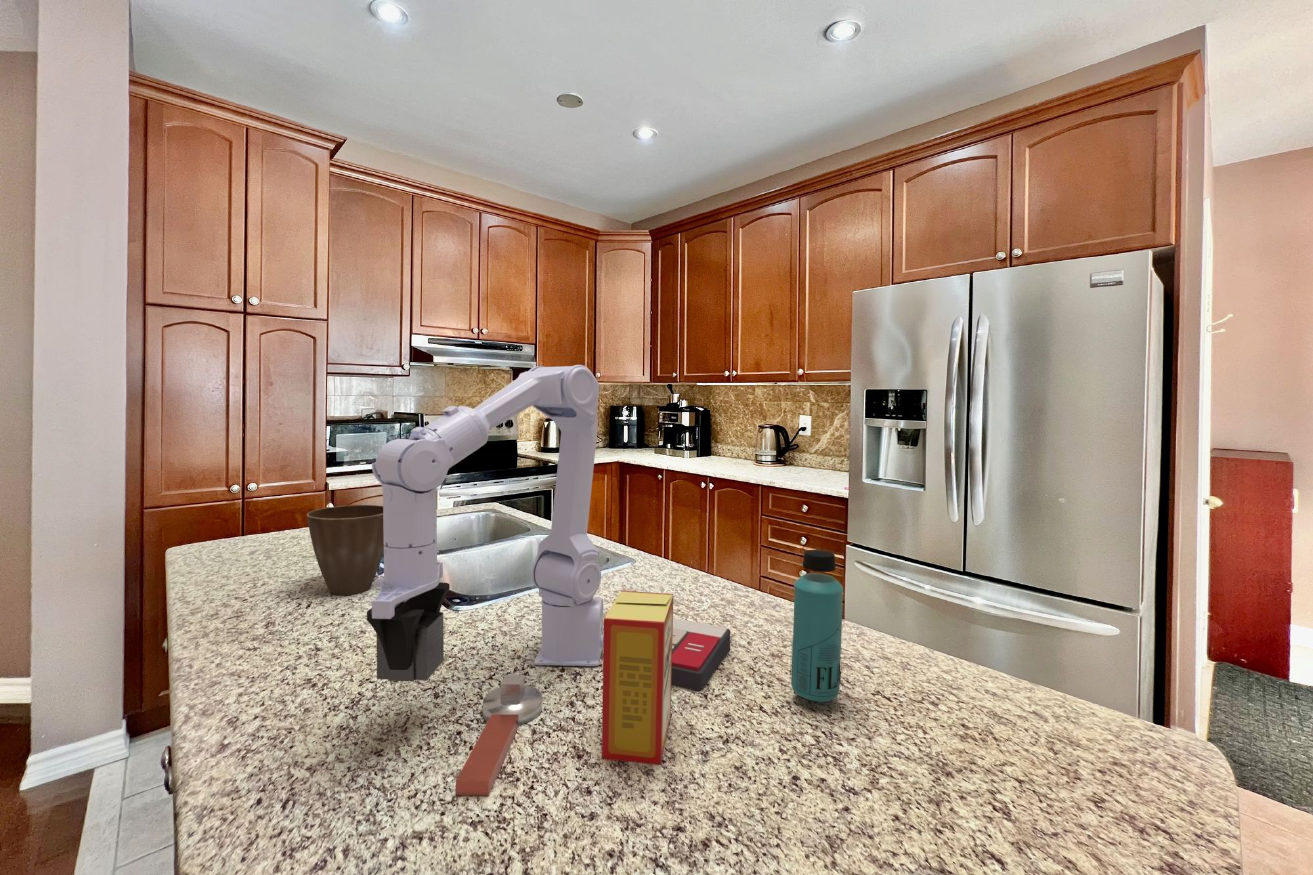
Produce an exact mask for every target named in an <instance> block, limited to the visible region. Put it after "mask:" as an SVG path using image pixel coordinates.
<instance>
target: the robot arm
mask: <svg viewBox="0 0 1313 875" xmlns="http://www.w3.org/2000/svg"><path fill="white" fill-rule="evenodd" d="M600 386H601V385H600V383H599V381H598V380H597V378H596V377H595V376H594V374H593V372H592V371H591V370H590V369H589V367H587V366H586V365H583V364H575V365H571V366H569V365H568V366H567V365H565V366H542V365H540V366H539V365H537V366H534V367H532V368H530V369H529V370H528V371H527V370H525V371H524V372H520V373H519V375H518V377H517V378H516V379H515V380H513V381H512V382H509V383H508V384H507V385H505V386H504V387H502V388H501V389H500V390H499V391H497V392H496V393H494V394H493V395H491V396H490V397H488V398H486V399H485V400H483V402H481V403H480V404H478V405H476V406H475V407H473V408H471V407H469V406H465V405H459V406H457V405H455V406H454V405H453V406H451V405H449V406H448V407H446V408H443V409H442V413H443V415H442V416H441V417H439V418H437V419H435V420H433V421H432V422H430V423H428V424H427V425H425V426H424V427H422V426H416V427H415V428H413V429H411V430H410V433H411V434H410V435H409V438H408V439H406V438H397V439H392V440H390V441H388V442H386V443H385V444H384V445H383V446H382V447H381V448H380V451H379V452H378V453H377V455H376V459H375V462H372V463H371V470H372V473H373V476H374V478H375V479H376V480H377V481H378V482H379V483H380V485H381V487H382V501H383V502H382V506H383V528H384V550H383V576H379V577H378V578H376V579H374V581H373V586H374V587H375V588H379V590H378V593H377V596H375V598H373V599H372V600H371V608H369V609H368V610H367V611H366V620H367V622H368V623H369V625H370V626H371V627H372V629H373V630H374V632H375V633H376V636H377V635H378V637H379V639H380V641H381V644H382V647H383V650H384V653H385V657H386V660H387V663H388V666H389V669H390V670H408V668H409V667H410V664H411V660H412V655H413V646H414V638H415V633H416V629H417V626H418V623H419V620H420V618H421V616H422V614H423V612H424V611H433V612H441V609H442V606H443V603H444V602H445V599H446V597H447V595H448V593H449V591H450V587H451V586H450V583H448V582H440V580H441V579H442V578H443V576H444V565H443V564H444V563H443V562H442V561H438V533H437V532H438V523H437V521H438V520H437V519H438V518H437V516H438V514H437V513H438V510H437V508H438V503H437V500H438V498H437V496H438V494H437V493H438V491H437V490H438V489H437V488H438V487H440V486H441V485H442V484H443V482H444V481H445V479H446V478H447V475H448V471H449V470H450V468H452V467H454V466H455V465H456V464H458V463H459V462H461V461H462V460H464V459H465V458H467V457H468V456H469V455H471V454H473V453H474V452H476V451H478V450H479V449H480V448H481V447H483V446H484V445H486V444H487V442H488V440H489V433H490V432H489V431H490V430H492V429H494V428H496V427H497V426H499V425H501V424H502V423H504V422H506V421H508V420H509V419H511V418H513V417H514V416H516V415H518V414H520V413H522V412H524V411H525V410H527V409H529V408H530V407H533V408H534V409H536V410H537V411H539V412H540V413H541V414H543V415H545V416H546V417H547V418H549V419H550V420H552V422H553V423H554V424H555V425H556V426H557V428H558V429H559V430H560V440H559V441H560V442H559V451H558V460H557V469H556V471H557V472H556V481H555V488H554V490H555V491H554V499H553V507H552V508H553V509H552V517H551V529H550V533H549V534H548V535H547V536H546V537H545V538H543V539H542V540H541V541H540V542H539V543H538V547H537V553H536V556H535V559H534V561H533V563H532V566H531V569H530V570H531V572H530V577H531V582H532V584H533V585H534V586H535V588H536V589H538V596H539V597H541V642H540V643H541V647H540V648H539V651H538V652H537V655H536V657H535V659H534V661H533V664H534V665H535V666H571V667H572V666H573V667H575V666H576V667H577V666H578V667H598V666H599V664H600V661H601V656H602V652H603V637H604V599H603V598H600V597H594V596H595V595H596V593H597V592H598V590H599V588H600V585H601V582H602V572H601V567H600V561H599V560H600V551H599V549H598V548H597V546H596V545H595V544H594V543H593V541H591V539H590V538H589V536H588V529H589V528H588V527H589V518H590V507H591V497H592V487H593V478H594V468H595V467H594V466H595V457H596V447H597V439H598V438H597V437H598V436H597V435H598V426H599V419H598V418H599V417H598V407H599V406H598V405H599V404H598V403H599V396H600V394H599V393H600Z"/></svg>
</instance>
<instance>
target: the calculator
mask: <svg viewBox="0 0 1313 875" xmlns="http://www.w3.org/2000/svg"><path fill="white" fill-rule="evenodd" d="M730 651H731V629H730V628H727V627H725V626H719V625H714V624H709V623H703V622H699V621H697V622H696V621H693V620H692V621H691V620H686V619H680V618H676V617H675V618H674V617H673V636H672V683H671V687H672V686H673V687H677V688H682V689H686V690H691V691H695V692H702V691H703V690H704V689H705V687H706V686H707V684H708V682H709V681H710V680H711V678H712V677H713V675H714V674H715V672H716V670H717V669H718V667H719V666H720V664H721V663H722V661H723V660H724V659H725V658H726V657H727V655H728V654H729V652H730Z"/></svg>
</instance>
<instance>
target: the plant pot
mask: <svg viewBox="0 0 1313 875" xmlns="http://www.w3.org/2000/svg"><path fill="white" fill-rule="evenodd" d="M306 518H307V524H308V529H309V531H308V532H309V535H310V540H311V543H312V547H313V552H314V555H315V558H316V562H317V564H318V567H319V569H320V570H319V571H320V573H321V575H322V576H321V577H322V578H323V580H324V582H325V585H326V587H327V589H328V591H329V593H330V594H332V593H333V595H337V596H339V595H340V596H341V595H342V596H345V595H346V596H347V595H348V596H349V595H355V594H360V593H364V592H366V591H368V590H370V589H371V587H372V585H373V584H374V581H375V578H376V575H377V573H378V569H379V566H380V563H381V560H382V557H383V555H384V528H383V505H373V504H372V505H371V504H355V505H353V504H352V505H338V506H337V505H336V506H331V507H324V508H319V509H314V510H311V511H309V512H307V513H306Z"/></svg>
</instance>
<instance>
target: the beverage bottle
mask: <svg viewBox="0 0 1313 875" xmlns="http://www.w3.org/2000/svg"><path fill="white" fill-rule="evenodd" d="M836 566H837V565H836V556H835V554H834V553H833V552H831V551H829V550H824V549H809V550H805V551H804V553H803V561H802V567H803V568H804V569H806V570H808V571H812V572H811V573H804V574H802V575H801V576H800V577H799V578H797V580H795V581H794V584H793V588H794V592H793V594H794V596H793V597H794V598H793V623H792V624H793V628H792V630H793V631H792V641H790V642H791V644H790V646H791V647H790V648H791V649H790V651H791V659H790V662H791V665H790V672H789V673H790V675H789V676H790V677H789V678H790V679H789V680H790V683H791V688H792V690H793V691H794V693H795V694H796V695H798V696H799V697H800V698H804V699H806V700H810V701H813V702H831V701H834V700H835V699H837V697H839V693H840V692H841V684H842V680H841V679H842V678H841V677H842V665H843V664H841V662H842V650H843V649H842V637H843V635H844V633H843V621H844V615H843V614H844V612H843V593H844V587H843V585H842V584H841V583H840V582H839V581H838V579H836V578H835V577H834V576H831V575H829V574H825V573H830V572H834V571H836ZM817 572H819V573H817Z"/></svg>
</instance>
